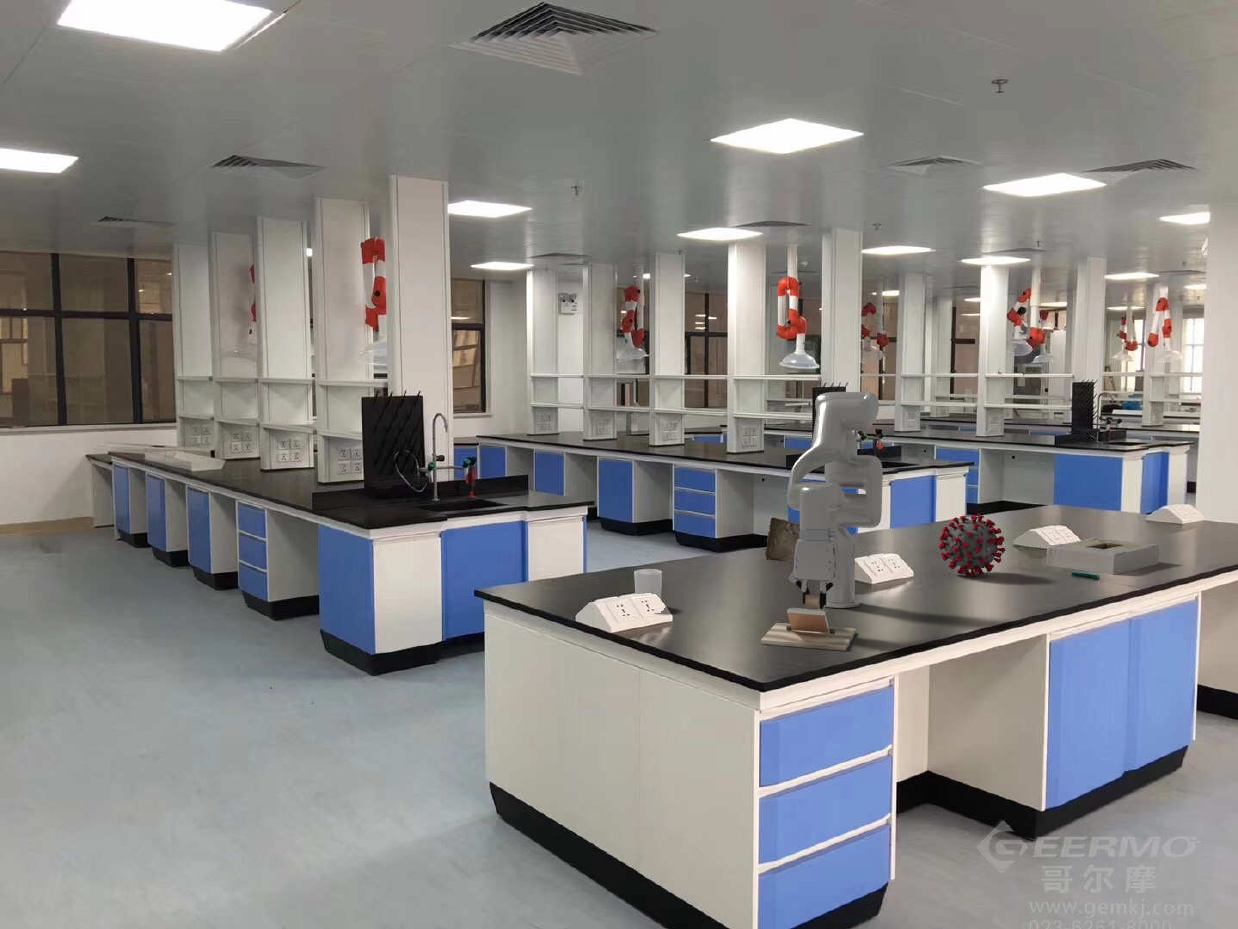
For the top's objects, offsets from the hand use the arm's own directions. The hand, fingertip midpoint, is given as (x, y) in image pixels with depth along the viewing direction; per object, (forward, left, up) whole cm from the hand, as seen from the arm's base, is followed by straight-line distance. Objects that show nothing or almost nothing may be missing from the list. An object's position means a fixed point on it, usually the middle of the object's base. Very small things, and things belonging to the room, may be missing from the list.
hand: (814, 606), depth 242 cm
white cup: (-13, -49, -6) cm, 51 cm away
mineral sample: (-97, -26, -6) cm, 101 cm away
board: (+8, 0, -6) cm, 10 cm away
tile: (+9, 0, -1) cm, 9 cm away
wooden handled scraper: (+3, 0, -1) cm, 3 cm away
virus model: (-89, +36, -6) cm, 96 cm away
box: (-124, +78, -7) cm, 147 cm away
